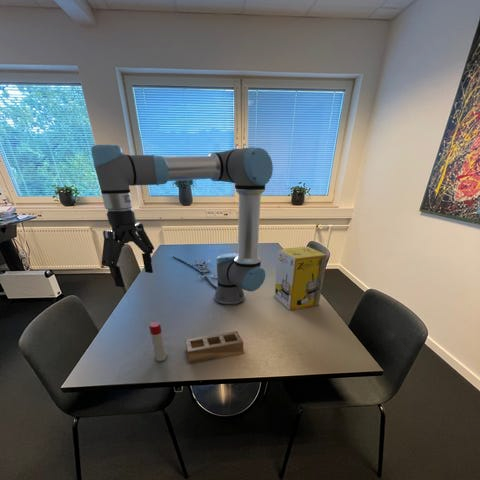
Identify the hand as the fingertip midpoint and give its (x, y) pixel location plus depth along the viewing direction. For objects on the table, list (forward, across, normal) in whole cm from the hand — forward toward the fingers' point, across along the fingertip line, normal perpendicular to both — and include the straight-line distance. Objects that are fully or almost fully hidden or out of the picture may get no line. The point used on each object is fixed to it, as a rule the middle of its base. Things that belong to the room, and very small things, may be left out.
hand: (135, 279), depth 85 cm
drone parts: (+27, +85, +17) cm, 91 cm away
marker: (+27, -5, -9) cm, 29 cm away
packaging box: (+28, +60, -43) cm, 79 cm away
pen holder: (+27, +5, -25) cm, 37 cm away
